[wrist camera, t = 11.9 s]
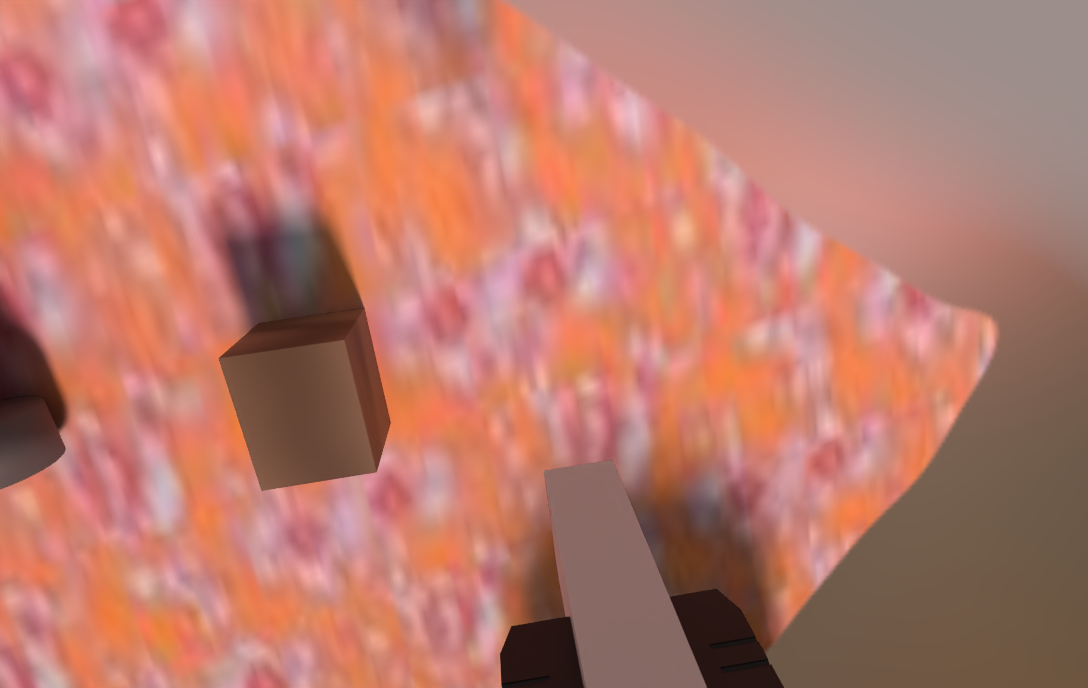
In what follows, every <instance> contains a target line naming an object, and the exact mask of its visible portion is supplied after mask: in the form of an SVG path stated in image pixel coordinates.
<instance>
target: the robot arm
mask: <svg viewBox="0 0 1088 688" xmlns="http://www.w3.org/2000/svg"><path fill="white" fill-rule="evenodd" d="M544 476H545V484H546V491H547V498H548V506H549V513H550V520H551V528H552V535H553V542H554V550H555V557H556V564H557V572H558V578H559V583H560V589H561V594H562V600H563V605H564V611H565V616H566V617H563V618H557V619H551V620H546V621H540V622H534V623H528V624H523V625H517V626H511V629H510V631H509V634H508V636H507V639H506V641H505V643H504V646H503V648H502V651H501V653H500V660H501V684H502V688H784V687H783V685H782V683H781V681H780V680H779V678H778V676H777V674H776V673H775V671H774V669H773V667H772V665H769V662H768V658H767V656H766V654H765V653H764V651H763V649H762V647H761V645H760V643H759V642H757V640H756V637H755V634H754V633H753V631H752V629H751V627H750V625H749V624H748V622H747V620H746V618H745V616H744V615H743V613H742V611H741V609H740V608H738V607H737V606H736V605H735V604H734V603H732V602H731V601H730V600H729V599H728V598H727V597H725V596H724V595H723V594H722V593H721V592H719V591H718V590H717V589H713V590H707V591H701V592H695V593H690V594H684V595H678V596H672V597H669V595H668V592H667V590H666V587H665V585H664V583H663V580H662V578H661V575H660V573H659V571H658V568H657V566H656V563H655V561H654V558H653V556H652V554H651V551H650V549H649V546H648V544H647V542H646V539H645V537H644V534H643V532H642V529H641V527H640V525H639V522H638V520H637V517H636V515H635V513H634V510H633V508H632V505H631V503H630V500H629V498H628V496H627V493H626V491H625V488H624V486H623V484H622V481H621V479H620V476H619V474H618V471H617V469H616V467H615V464H614V462H613V460H609V461H602V462H596V463H590V464H584V465H577V466H571V467H565V468H558V469H552V470H546V471H544Z"/></svg>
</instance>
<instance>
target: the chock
mask: <svg viewBox="0 0 1088 688" xmlns="http://www.w3.org/2000/svg"><path fill="white" fill-rule="evenodd" d="M219 361H220V364H221V367H222V370H223V373H224V376H225V380H226V383H227V386H228V389H229V392H230V395H231V398H232V401H233V404H234V407H235V410H236V413H237V417H238V420H239V423H240V426H241V429H242V432H243V435H244V438H245V441H246V444H247V447H248V450H249V454H250V457H251V460H252V463H253V466H254V469H255V472H256V475H257V478H258V481H259V484H260V487H261V490H262V491H264V490H270V489H276V488H282V487H288V486H294V485H301V484H307V483H313V482H319V481H325V480H331V479H338V478H344V477H350V476H356V475H362V474H368V473H375V472H377V469H378V466H379V462H380V459H381V455H382V452H383V448H384V445H385V441H386V438H387V434H388V431H389V427H390V423H391V422H390V418H389V413H388V409H387V405H386V400H385V396H384V392H383V387H382V383H381V379H380V374H379V370H378V365H377V361H376V357H375V352H374V348H373V344H372V339H371V335H370V330H369V326H368V322H367V317H366V313H365V309H364V308H360V309H353V310H346V311H339V312H332V313H325V314H319V315H312V316H305V317H298V318H291V319H284V320H277V321H270V322H263V323H259V324H257V325H256V326H255V327H254V328H253V329H252V330H251V331H249V332H248V333H247V334H246V335H245V336H244V337H242V338H241V339H240V340H239V341H238V342H237V343H236V344H234V345H233V346H232V347H231V348H230V349H229V350H228V351H226V352H225V353H224V354H223V355H222V356H221V357H220V358H219Z"/></svg>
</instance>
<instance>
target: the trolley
mask: <svg viewBox="0 0 1088 688" xmlns="http://www.w3.org/2000/svg"><path fill="white" fill-rule="evenodd" d="M64 452H65V445H64V443H63V441H62V439H61V436H60V434H59V432H58V430H57V427H56V425H55V423H54V420H53V418H52V416H51V414H50V411H49V409H48V407H47V405H46V402H45V400H44V399H43V398H42V397H39V396H22V397H14V398H8V399H3V400H0V489H2V488H5V487H8V486H10V485H13V484H15V483H17V482H20V481H22V480H24V479H26V478H28V477H30V476H32V475H34V474H36V473H38V472H40V471H42V470H44V469H45V468H47V467H48V466H50V465H51V464H53V463H54V462H56V461H57V460H58V459H59V458H60V457H61V456H62V455H63V454H64Z"/></svg>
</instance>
